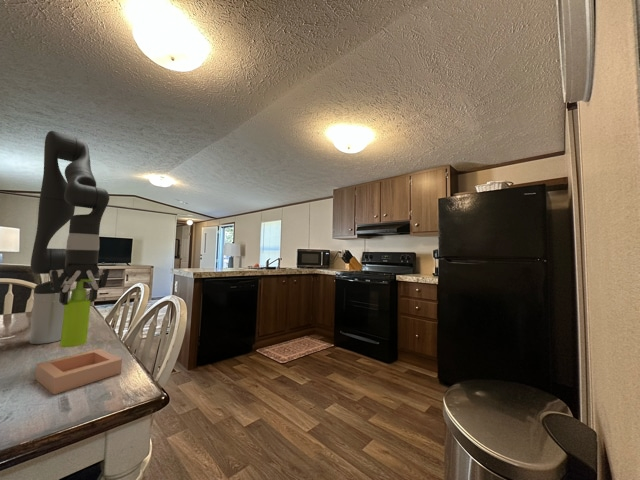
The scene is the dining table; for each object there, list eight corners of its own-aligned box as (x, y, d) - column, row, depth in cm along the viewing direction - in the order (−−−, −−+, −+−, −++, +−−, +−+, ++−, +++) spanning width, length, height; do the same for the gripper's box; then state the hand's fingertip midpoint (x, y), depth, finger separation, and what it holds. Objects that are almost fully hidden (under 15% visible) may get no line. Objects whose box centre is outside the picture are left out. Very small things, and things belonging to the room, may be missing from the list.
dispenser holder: (34, 378, 65) (36, 363, 65) (98, 361, 76) (99, 348, 77) (53, 394, 58) (55, 378, 58) (121, 372, 69) (121, 359, 69)
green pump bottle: (72, 348, 75) (80, 279, 77) (54, 346, 77) (62, 278, 78) (94, 342, 81) (100, 278, 82) (76, 340, 82) (83, 277, 84)
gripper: (105, 249, 88) (101, 298, 87) (46, 247, 76) (41, 305, 75) (116, 249, 85) (111, 301, 84) (55, 248, 72) (49, 308, 71)
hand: (78, 302), depth 79 cm, fingers closed on green pump bottle, 6 cm apart
